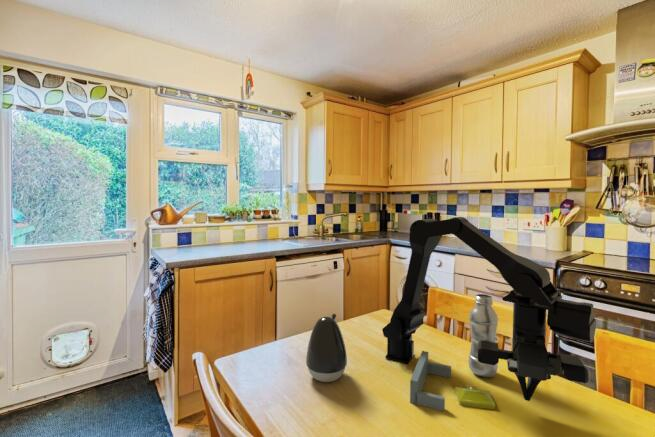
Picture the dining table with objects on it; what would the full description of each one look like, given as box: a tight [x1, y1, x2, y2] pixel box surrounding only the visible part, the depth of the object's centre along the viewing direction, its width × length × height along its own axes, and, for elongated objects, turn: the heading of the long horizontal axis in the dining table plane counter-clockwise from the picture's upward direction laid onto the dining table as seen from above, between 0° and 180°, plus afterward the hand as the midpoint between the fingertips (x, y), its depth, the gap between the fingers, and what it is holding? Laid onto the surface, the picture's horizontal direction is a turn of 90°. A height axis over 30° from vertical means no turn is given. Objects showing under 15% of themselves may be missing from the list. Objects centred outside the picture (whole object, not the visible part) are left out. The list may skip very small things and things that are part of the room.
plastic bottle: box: [467, 293, 499, 378], centre depth 81 cm, size 6×7×20 cm
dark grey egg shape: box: [305, 313, 348, 383], centre depth 80 cm, size 10×10×15 cm
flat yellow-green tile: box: [455, 384, 497, 410], centre depth 71 cm, size 10×9×3 cm
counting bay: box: [409, 350, 452, 412], centre depth 75 cm, size 7×15×5 cm, turn 154°
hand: (526, 399), depth 67 cm, fingers closed
